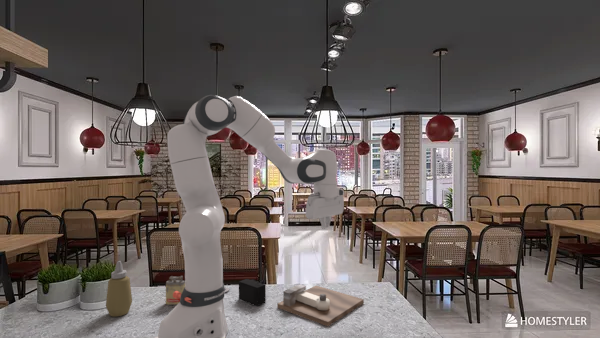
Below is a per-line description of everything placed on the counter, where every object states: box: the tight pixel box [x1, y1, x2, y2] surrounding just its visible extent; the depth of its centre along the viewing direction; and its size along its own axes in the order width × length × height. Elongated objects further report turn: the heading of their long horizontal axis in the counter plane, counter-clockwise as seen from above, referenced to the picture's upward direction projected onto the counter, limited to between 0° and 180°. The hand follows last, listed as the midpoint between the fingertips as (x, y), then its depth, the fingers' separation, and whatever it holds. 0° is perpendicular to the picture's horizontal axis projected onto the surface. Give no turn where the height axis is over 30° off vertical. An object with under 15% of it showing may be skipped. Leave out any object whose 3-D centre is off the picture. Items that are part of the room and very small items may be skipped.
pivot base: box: [276, 283, 365, 327], centre depth 121 cm, size 23×22×6 cm
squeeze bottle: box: [105, 260, 133, 318], centre depth 114 cm, size 8×8×18 cm
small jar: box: [165, 275, 185, 306], centre depth 123 cm, size 7×4×10 cm, turn 89°
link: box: [295, 290, 330, 311], centre depth 119 cm, size 18×5×2 cm, turn 46°
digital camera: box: [238, 278, 267, 307], centre depth 125 cm, size 10×5×7 cm, turn 51°
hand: (325, 228), depth 126 cm, fingers closed
